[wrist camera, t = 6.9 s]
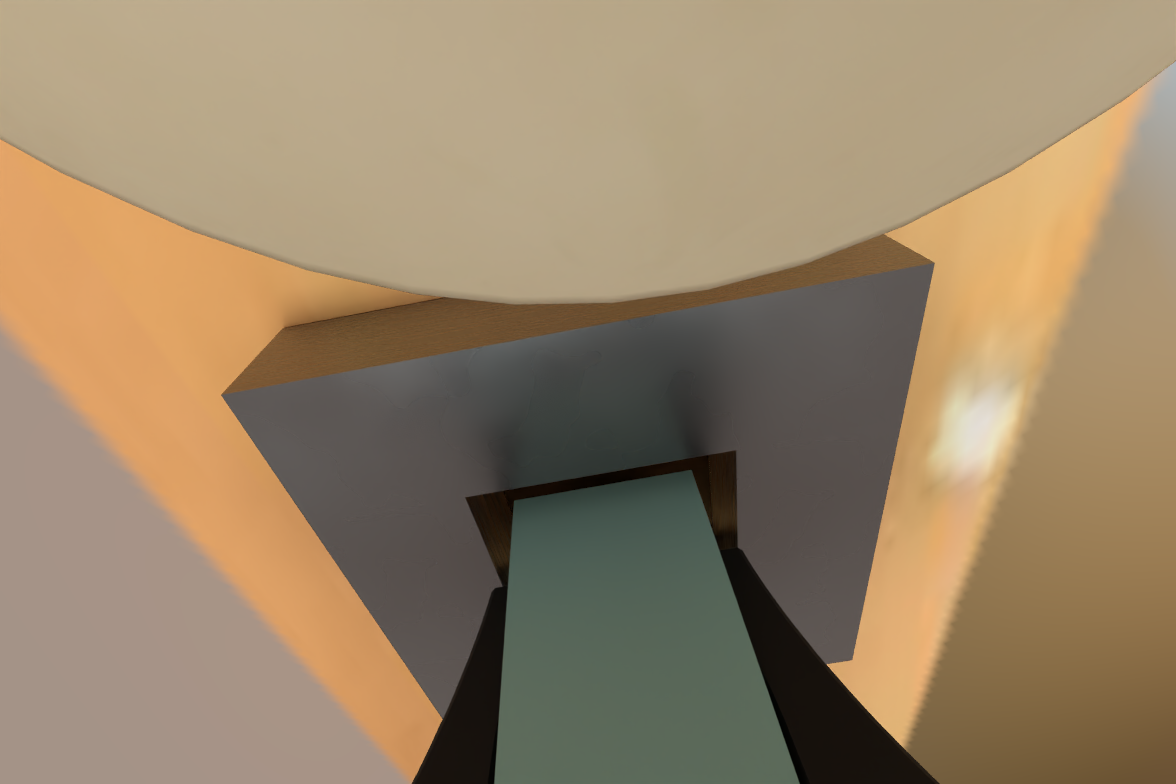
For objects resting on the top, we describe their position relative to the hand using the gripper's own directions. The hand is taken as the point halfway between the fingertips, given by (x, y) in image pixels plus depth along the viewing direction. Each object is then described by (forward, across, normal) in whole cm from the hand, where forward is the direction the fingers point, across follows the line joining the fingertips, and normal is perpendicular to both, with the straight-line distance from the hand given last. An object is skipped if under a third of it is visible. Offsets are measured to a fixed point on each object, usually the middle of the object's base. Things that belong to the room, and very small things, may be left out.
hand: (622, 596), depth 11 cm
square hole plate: (+3, 0, 0) cm, 3 cm away
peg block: (+2, 0, 0) cm, 2 cm away
